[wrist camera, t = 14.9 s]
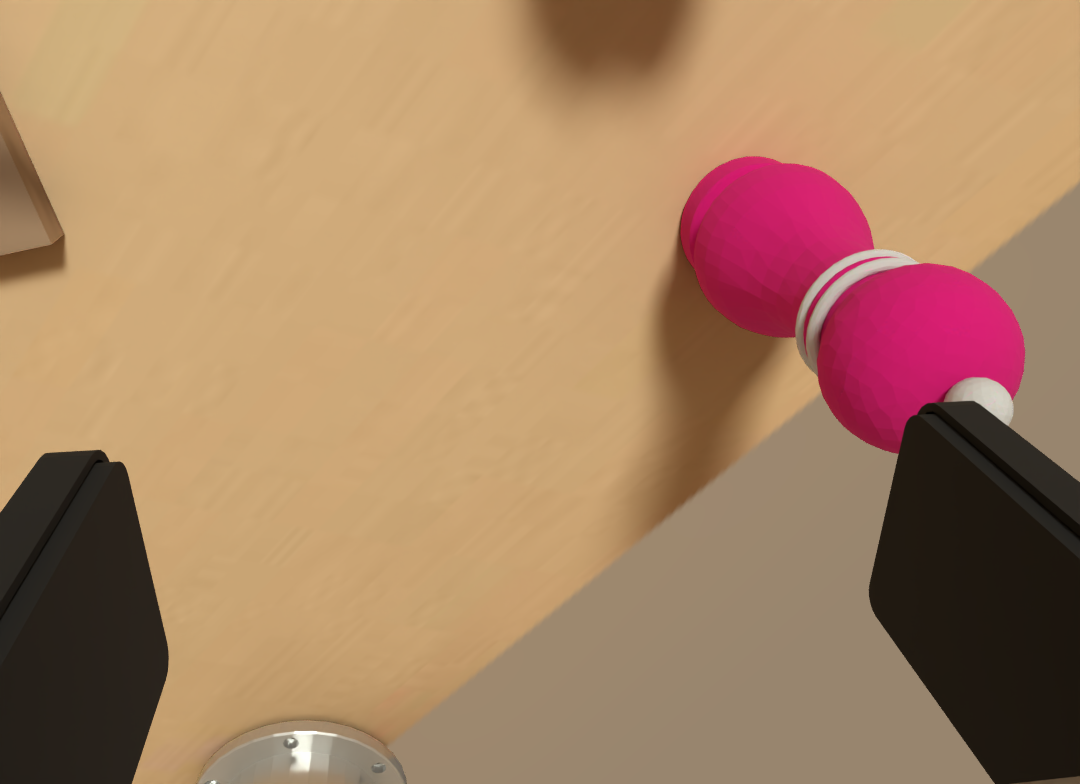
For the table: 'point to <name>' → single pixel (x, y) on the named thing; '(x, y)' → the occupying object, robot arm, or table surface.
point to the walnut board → (22, 195)
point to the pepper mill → (848, 298)
